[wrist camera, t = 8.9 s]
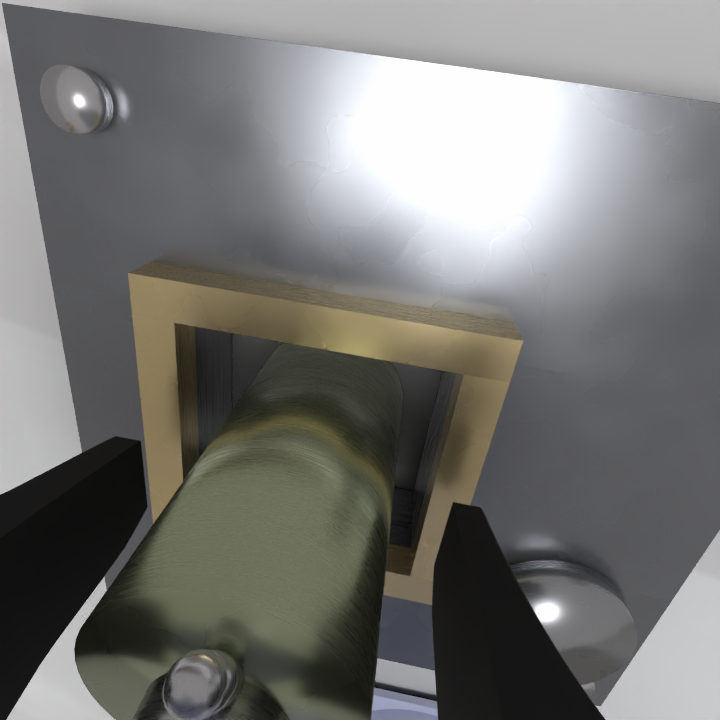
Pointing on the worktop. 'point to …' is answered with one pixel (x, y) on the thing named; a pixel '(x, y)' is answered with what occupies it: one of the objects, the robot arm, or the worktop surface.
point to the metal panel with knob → (401, 290)
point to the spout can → (262, 559)
